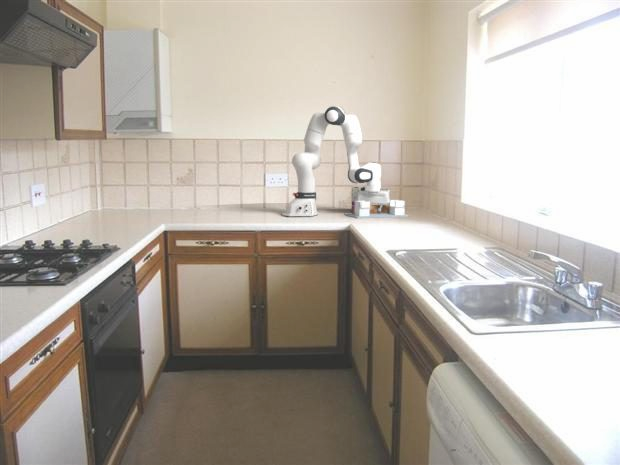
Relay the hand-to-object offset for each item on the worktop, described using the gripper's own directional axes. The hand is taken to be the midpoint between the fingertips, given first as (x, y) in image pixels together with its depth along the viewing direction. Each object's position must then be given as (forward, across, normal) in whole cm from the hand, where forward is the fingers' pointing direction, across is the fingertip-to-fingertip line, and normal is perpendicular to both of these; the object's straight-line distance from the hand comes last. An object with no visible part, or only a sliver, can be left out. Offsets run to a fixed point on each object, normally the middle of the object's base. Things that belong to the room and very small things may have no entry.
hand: (373, 210), depth 333 cm
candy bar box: (+3, +14, -13) cm, 19 cm away
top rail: (+2, 0, 0) cm, 2 cm away
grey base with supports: (+3, -3, +3) cm, 5 cm away
